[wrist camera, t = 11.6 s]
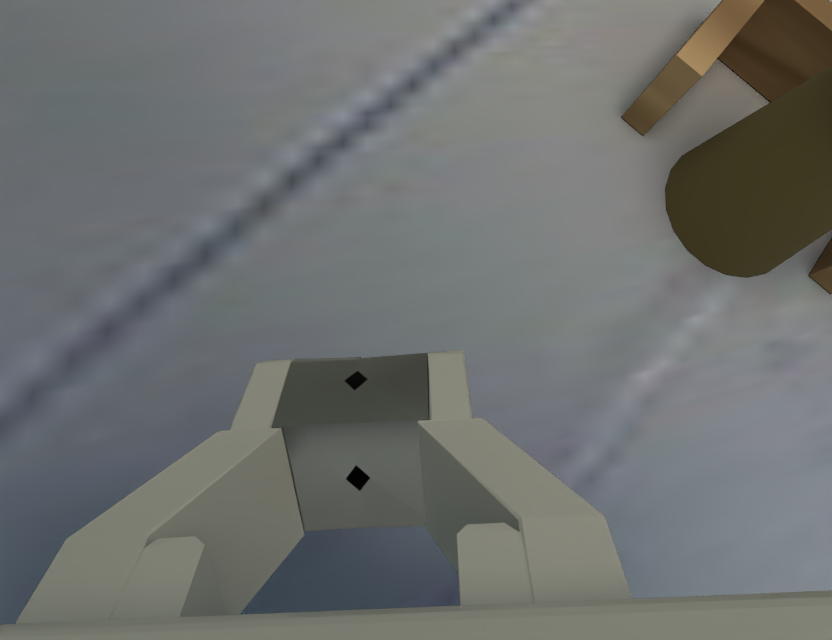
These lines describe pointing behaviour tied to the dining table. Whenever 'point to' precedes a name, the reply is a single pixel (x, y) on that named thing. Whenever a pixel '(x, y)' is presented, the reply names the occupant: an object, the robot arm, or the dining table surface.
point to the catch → (748, 62)
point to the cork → (758, 184)
